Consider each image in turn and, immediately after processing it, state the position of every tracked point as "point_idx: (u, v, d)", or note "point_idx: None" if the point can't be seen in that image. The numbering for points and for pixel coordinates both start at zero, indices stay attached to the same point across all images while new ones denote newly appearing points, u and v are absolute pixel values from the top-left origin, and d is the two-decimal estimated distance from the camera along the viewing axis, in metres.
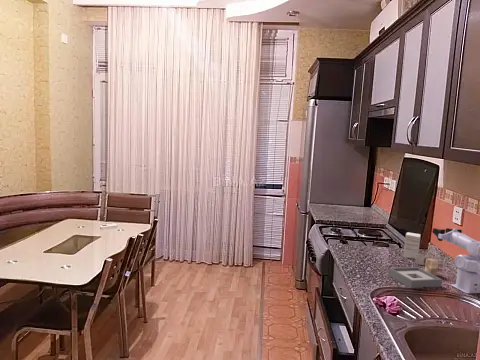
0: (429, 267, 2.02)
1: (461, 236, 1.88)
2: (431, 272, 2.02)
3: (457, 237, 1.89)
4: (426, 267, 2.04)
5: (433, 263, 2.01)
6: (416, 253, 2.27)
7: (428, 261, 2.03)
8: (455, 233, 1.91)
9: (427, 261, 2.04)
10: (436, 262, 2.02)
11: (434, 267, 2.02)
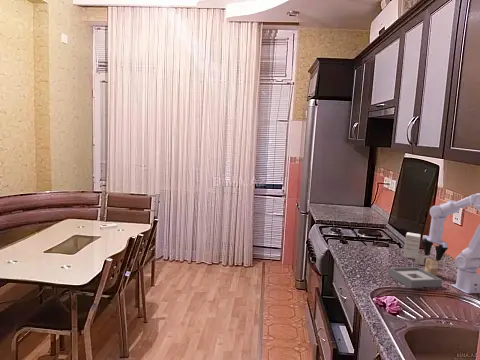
0: (429, 267, 2.02)
1: (430, 227, 2.03)
2: (431, 272, 2.02)
3: (437, 232, 1.99)
4: (426, 267, 2.04)
5: (433, 263, 2.01)
6: (416, 253, 2.27)
7: (428, 261, 2.03)
8: (433, 236, 2.00)
9: (427, 261, 2.04)
10: (436, 262, 2.02)
11: (434, 267, 2.02)
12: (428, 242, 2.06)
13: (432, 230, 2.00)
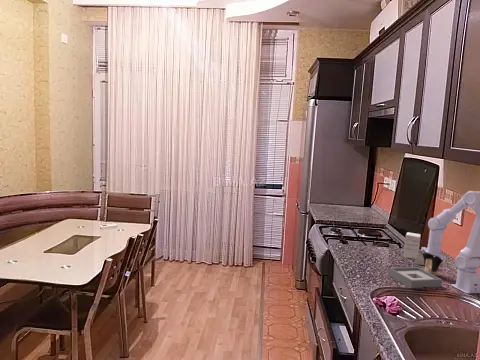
0: (429, 267, 2.02)
1: None
2: (431, 272, 2.02)
3: (435, 244, 2.00)
4: (426, 267, 2.04)
5: None
6: (416, 253, 2.27)
7: (428, 261, 2.03)
8: (432, 248, 2.01)
9: (427, 261, 2.04)
10: None
11: None
12: (429, 255, 2.05)
13: (430, 242, 2.01)
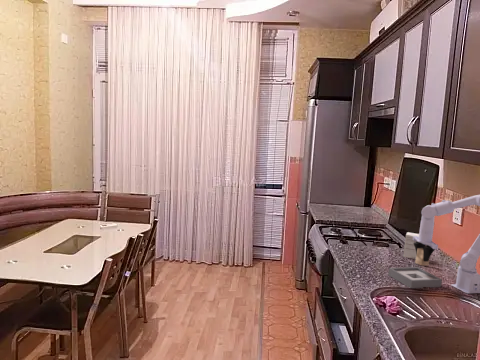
0: (421, 256, 1.94)
1: (420, 228, 1.93)
2: (422, 262, 1.93)
3: (427, 232, 1.91)
4: (417, 257, 1.96)
5: None
6: None
7: (419, 250, 1.95)
8: (423, 237, 1.92)
9: (418, 251, 1.95)
10: None
11: None
12: (420, 244, 1.97)
13: (422, 231, 1.92)
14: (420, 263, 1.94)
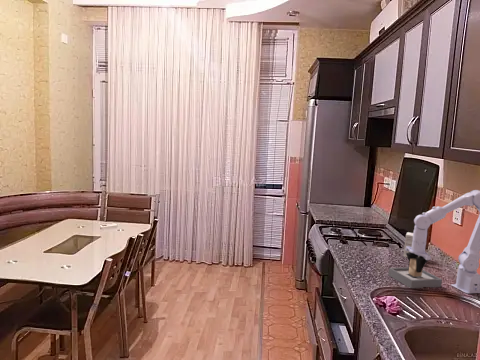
0: (413, 267, 1.90)
1: (414, 239, 1.89)
2: (415, 273, 1.89)
3: (420, 243, 1.87)
4: (410, 267, 1.92)
5: None
6: None
7: (412, 261, 1.91)
8: (416, 248, 1.88)
9: (411, 261, 1.91)
10: None
11: None
12: (413, 254, 1.93)
13: (414, 241, 1.89)
14: (413, 274, 1.90)
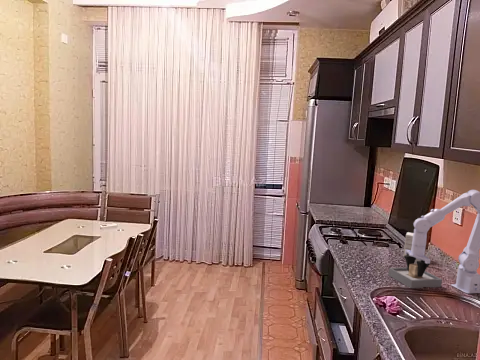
0: (413, 273, 1.90)
1: (414, 242, 1.89)
2: None
3: (419, 246, 1.87)
4: (410, 273, 1.92)
5: (417, 269, 1.89)
6: None
7: (412, 266, 1.91)
8: (415, 251, 1.88)
9: (411, 266, 1.92)
10: None
11: None
12: (411, 257, 1.94)
13: (414, 244, 1.89)
14: None
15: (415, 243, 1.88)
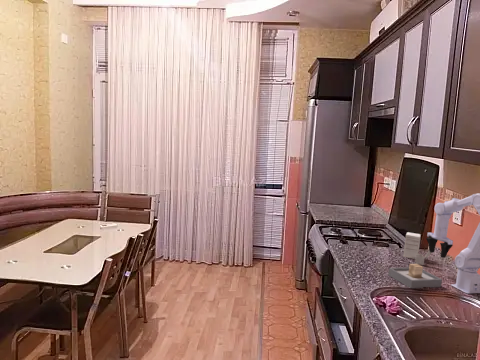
0: (413, 273, 1.90)
1: None
2: None
3: (442, 229, 1.99)
4: (410, 273, 1.92)
5: (417, 269, 1.89)
6: (416, 253, 2.27)
7: (412, 266, 1.91)
8: (438, 233, 2.00)
9: (411, 266, 1.92)
10: (420, 268, 1.90)
11: (418, 273, 1.90)
12: (433, 239, 2.07)
13: (437, 227, 2.01)
14: None
15: (435, 224, 2.03)
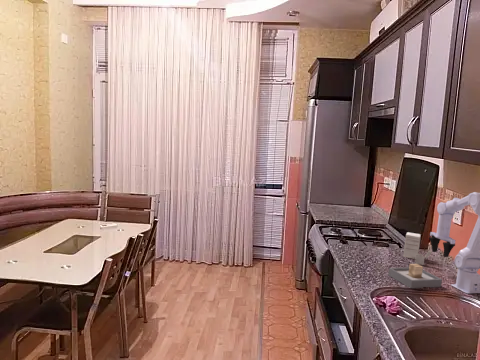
0: (413, 273, 1.90)
1: None
2: None
3: (445, 228, 2.01)
4: (410, 273, 1.92)
5: (417, 269, 1.89)
6: (416, 253, 2.27)
7: (412, 266, 1.91)
8: (441, 233, 2.02)
9: (411, 266, 1.92)
10: (420, 268, 1.90)
11: (418, 273, 1.90)
12: (435, 239, 2.08)
13: (439, 227, 2.03)
14: None
15: None
